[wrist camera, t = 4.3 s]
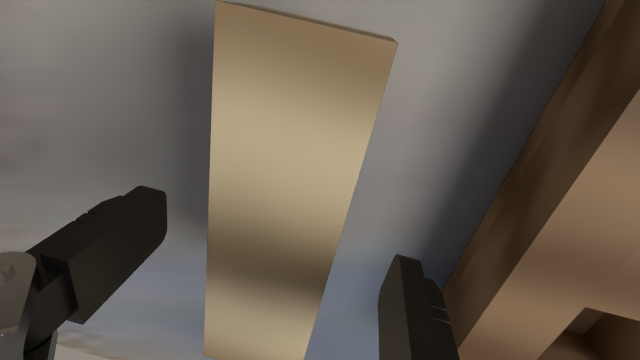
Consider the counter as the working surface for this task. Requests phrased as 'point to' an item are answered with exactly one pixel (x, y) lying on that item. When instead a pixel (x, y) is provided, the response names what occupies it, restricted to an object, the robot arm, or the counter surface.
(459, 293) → the brown slotted wooden block
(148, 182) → the counter surface
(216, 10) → the beige wooden plank
